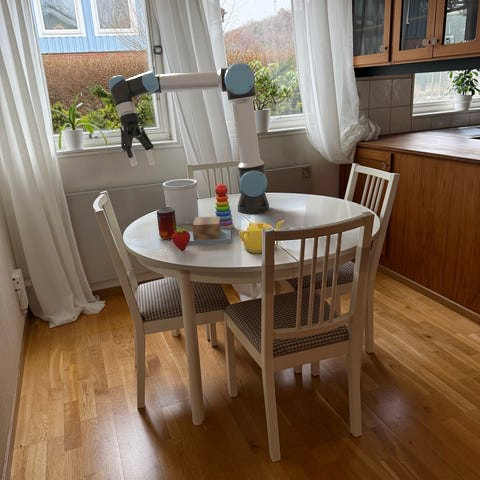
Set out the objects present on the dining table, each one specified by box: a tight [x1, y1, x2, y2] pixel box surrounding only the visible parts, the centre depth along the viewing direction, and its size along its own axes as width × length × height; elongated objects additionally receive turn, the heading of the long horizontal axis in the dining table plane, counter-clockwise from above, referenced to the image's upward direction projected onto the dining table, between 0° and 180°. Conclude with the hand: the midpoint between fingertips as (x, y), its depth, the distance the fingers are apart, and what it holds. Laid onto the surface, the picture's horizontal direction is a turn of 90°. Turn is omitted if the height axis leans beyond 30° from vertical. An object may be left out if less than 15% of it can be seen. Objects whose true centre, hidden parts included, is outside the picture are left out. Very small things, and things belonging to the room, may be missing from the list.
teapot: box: [238, 219, 285, 254], centre depth 155 cm, size 14×13×10 cm
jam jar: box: [156, 206, 178, 241], centre depth 171 cm, size 7×7×12 cm
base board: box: [187, 229, 232, 246], centre depth 170 cm, size 18×12×2 cm, turn 90°
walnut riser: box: [191, 215, 221, 240], centre depth 168 cm, size 10×10×6 cm
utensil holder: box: [162, 178, 200, 226], centre depth 193 cm, size 15×15×18 cm
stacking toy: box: [214, 183, 235, 230], centre depth 179 cm, size 8×8×19 cm
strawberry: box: [171, 225, 190, 252], centre depth 156 cm, size 6×8×10 cm
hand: (144, 165), depth 179 cm, fingers open, 13 cm apart
